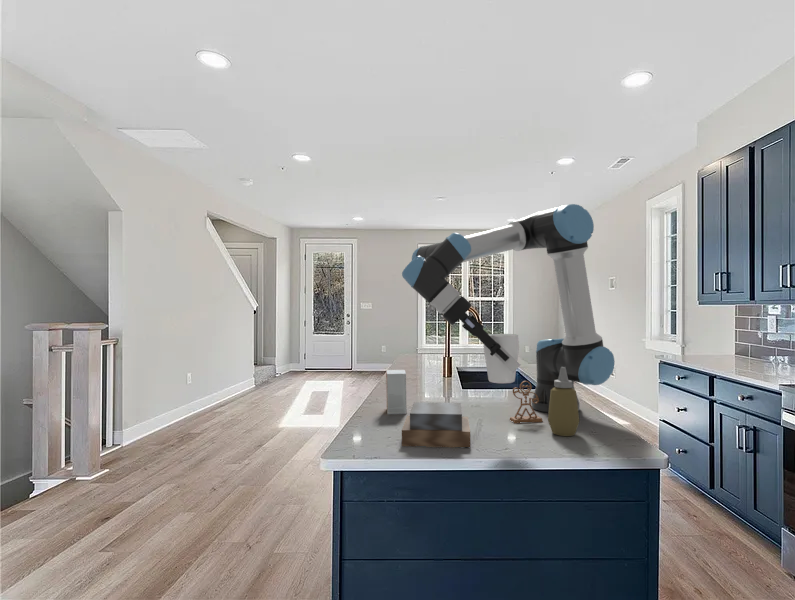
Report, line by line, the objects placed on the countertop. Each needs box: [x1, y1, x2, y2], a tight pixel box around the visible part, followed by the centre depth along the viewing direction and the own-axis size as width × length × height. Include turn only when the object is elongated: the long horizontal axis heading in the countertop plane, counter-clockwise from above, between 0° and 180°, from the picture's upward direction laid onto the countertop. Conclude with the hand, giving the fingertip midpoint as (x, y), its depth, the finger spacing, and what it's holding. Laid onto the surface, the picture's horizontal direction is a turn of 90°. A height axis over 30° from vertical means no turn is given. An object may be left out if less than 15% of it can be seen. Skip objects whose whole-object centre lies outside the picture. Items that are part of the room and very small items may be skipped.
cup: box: [483, 333, 520, 384], centre depth 126 cm, size 9×9×12 cm
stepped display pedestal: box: [401, 401, 471, 448], centre depth 128 cm, size 17×15×8 cm
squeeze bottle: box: [547, 367, 580, 437], centre depth 132 cm, size 8×8×18 cm
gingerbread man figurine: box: [509, 380, 543, 424], centre depth 145 cm, size 9×4×12 cm, turn 100°
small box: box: [385, 369, 408, 415], centre depth 159 cm, size 8×6×13 cm
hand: (514, 365), depth 126 cm, fingers closed on cup, 9 cm apart
